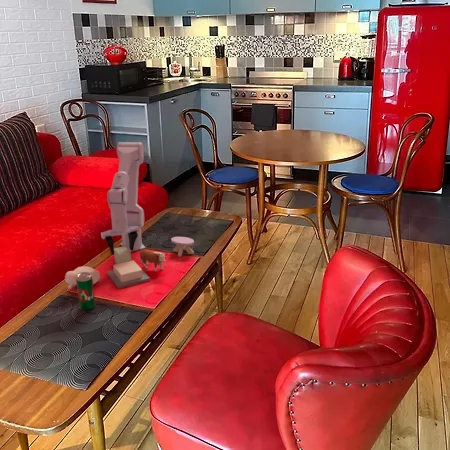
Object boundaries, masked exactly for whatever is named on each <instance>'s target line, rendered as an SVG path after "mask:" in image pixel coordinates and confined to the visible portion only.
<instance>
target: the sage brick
mask: <svg viewBox="0 0 450 450" xmlns="http://www.w3.org/2000/svg"><path fill="white" fill-rule="evenodd" d="M129 261H132V253H131V252H130V251H129V250H128V249H127V248H126V247H125V246H123V247H122V246H120V247H115V248H114V263H115V265H116V264H120V263H125V262H129Z"/></svg>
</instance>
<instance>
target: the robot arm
mask: <svg viewBox="0 0 450 450" xmlns="http://www.w3.org/2000/svg"><path fill="white" fill-rule="evenodd" d="M116 153H117V157H118V159H119V163H118V164H119V165H118V172H115V174H114V176H113V180H112V184H111V187H110V189H109V190H108V191H107V194H106V197H107V199H106V200H107V203H108V208H109V209H110V217H111V228H112V229H109V230H106V231H103V232H100V236H101V237H100V238H101V239H102V240H105V242H106V243H107V246H108V248H109V251H110V254H111V255H112V256H113V255H114V243H115V242H114V239H113V237H115V236H116V237H117V236H121V240H122V241H121V243H119V244H120V247H123V246H125V247H126V248H127V249H128V250H129V251H130V253H131V252H135V251H140V250H141V249H145V250H146V246H145V245H144V244H143V242H142V241H143V240H142V238H143V237H142V228H143V227H144V224H145V211H144V209H143V208H142V207H141V206H140V205H139V204H138V197H139V196H138V194H139V193H138V192H139V169H140V165H141V164H143V163H144V159H145V158H144V157H145V156H144V154H145V147H144V144H143V143H142V141H139V142H131V141H130V142H129V141H128V142H127V141H126V142H124V141H123V142H122V141H119V142H117V145H116Z"/></svg>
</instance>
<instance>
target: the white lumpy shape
mask: <svg viewBox="0 0 450 450" xmlns="http://www.w3.org/2000/svg"><path fill="white" fill-rule="evenodd" d="M82 272H88V273H90V274H91V276H92V280H93V285H94V284H95V285H96V284H97V282H100V279H101V277H100V276H101V273H100V272H99V271H98V270H97V269H94V268H93V267H91V266H84V265H83V266H77V268H75V269H74V270H70V271H69V270H68V271H67V272H66V273H65V276H64V281H65V283H66V284H68V285H67V290H72V289H73V288H74V287H75V286H77V283H76V278H77V275H78V274H79V273H82Z"/></svg>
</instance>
